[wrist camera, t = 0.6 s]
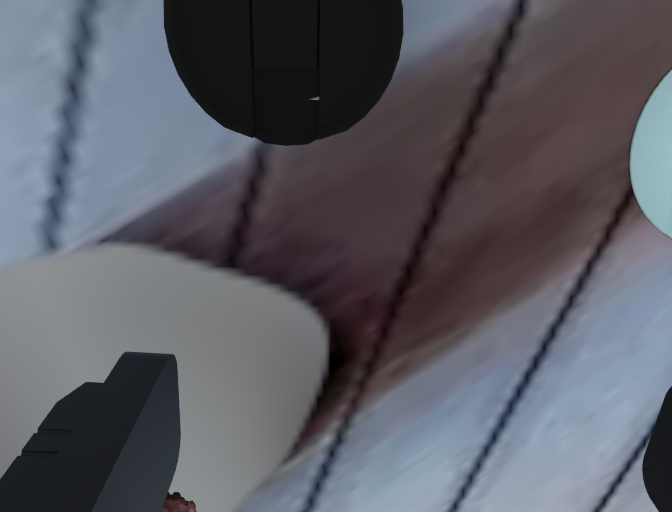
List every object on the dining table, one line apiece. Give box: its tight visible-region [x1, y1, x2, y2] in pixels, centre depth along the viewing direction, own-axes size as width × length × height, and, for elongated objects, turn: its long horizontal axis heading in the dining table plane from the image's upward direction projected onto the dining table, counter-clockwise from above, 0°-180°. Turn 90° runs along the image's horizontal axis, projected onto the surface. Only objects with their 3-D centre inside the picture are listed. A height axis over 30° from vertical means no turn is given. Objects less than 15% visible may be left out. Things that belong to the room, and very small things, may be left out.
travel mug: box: [164, 0, 403, 146], centre depth 23 cm, size 6×7×20 cm
